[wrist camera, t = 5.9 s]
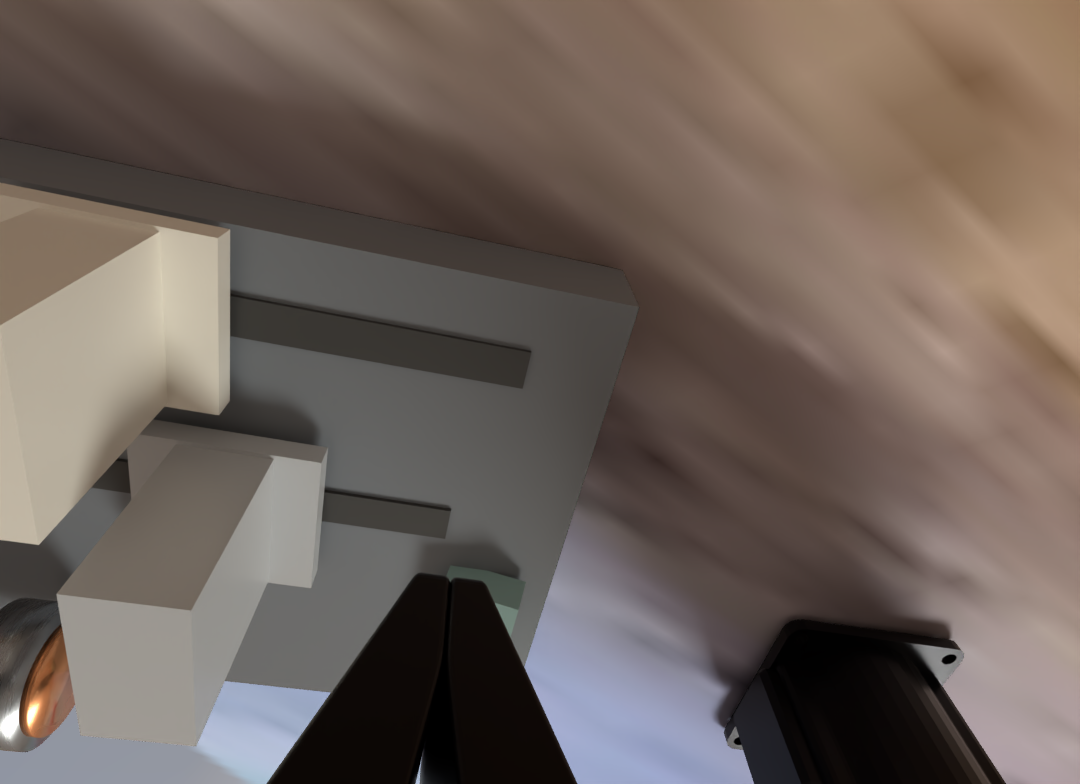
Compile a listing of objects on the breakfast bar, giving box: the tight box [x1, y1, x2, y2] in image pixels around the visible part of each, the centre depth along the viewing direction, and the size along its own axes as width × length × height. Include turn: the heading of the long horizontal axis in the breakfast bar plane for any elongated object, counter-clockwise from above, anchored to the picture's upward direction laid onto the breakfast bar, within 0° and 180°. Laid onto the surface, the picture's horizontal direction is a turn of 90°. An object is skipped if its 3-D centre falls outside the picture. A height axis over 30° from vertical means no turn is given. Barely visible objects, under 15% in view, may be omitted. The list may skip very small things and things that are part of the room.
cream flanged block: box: [0, 183, 230, 545], centre depth 11 cm, size 4×4×5 cm
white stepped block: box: [56, 419, 328, 746], centre depth 13 cm, size 4×4×5 cm
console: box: [0, 138, 639, 692], centre depth 15 cm, size 18×14×7 cm
